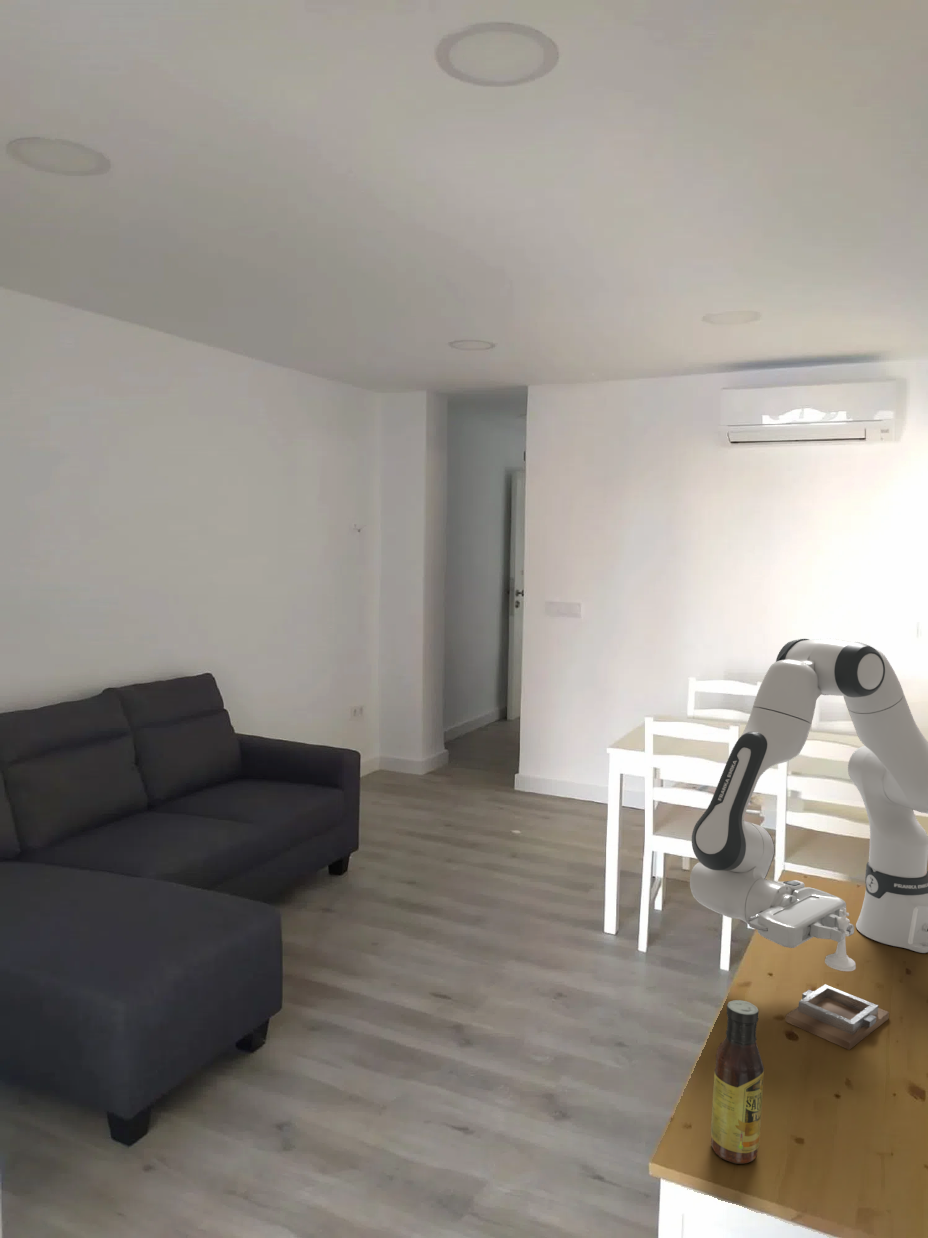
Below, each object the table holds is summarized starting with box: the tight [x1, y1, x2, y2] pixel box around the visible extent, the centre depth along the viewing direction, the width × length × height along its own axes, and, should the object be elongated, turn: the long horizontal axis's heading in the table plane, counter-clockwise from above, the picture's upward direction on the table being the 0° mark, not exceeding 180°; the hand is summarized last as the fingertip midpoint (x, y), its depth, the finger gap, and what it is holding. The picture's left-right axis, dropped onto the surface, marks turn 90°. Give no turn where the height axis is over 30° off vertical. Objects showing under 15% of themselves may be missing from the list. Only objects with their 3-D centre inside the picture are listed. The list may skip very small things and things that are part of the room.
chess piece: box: [824, 907, 857, 972], centre depth 152 cm, size 5×5×10 cm
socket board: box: [785, 998, 890, 1050], centre depth 153 cm, size 11×15×1 cm
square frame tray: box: [797, 983, 879, 1035], centre depth 153 cm, size 12×10×2 cm
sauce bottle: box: [710, 999, 765, 1165], centre depth 119 cm, size 6×6×20 cm
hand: (847, 934), depth 151 cm, fingers closed on chess piece, 2 cm apart
